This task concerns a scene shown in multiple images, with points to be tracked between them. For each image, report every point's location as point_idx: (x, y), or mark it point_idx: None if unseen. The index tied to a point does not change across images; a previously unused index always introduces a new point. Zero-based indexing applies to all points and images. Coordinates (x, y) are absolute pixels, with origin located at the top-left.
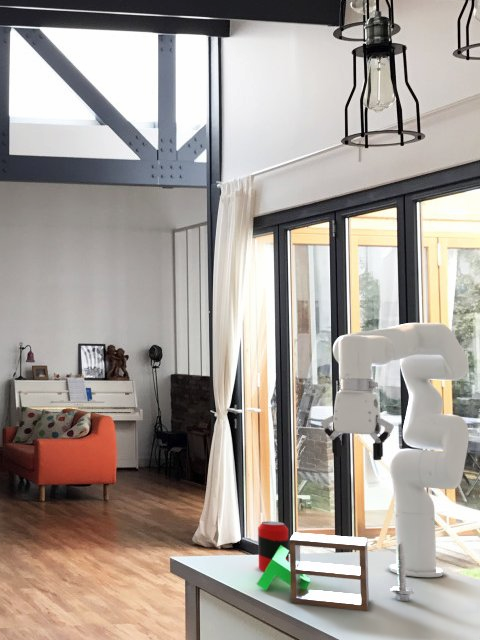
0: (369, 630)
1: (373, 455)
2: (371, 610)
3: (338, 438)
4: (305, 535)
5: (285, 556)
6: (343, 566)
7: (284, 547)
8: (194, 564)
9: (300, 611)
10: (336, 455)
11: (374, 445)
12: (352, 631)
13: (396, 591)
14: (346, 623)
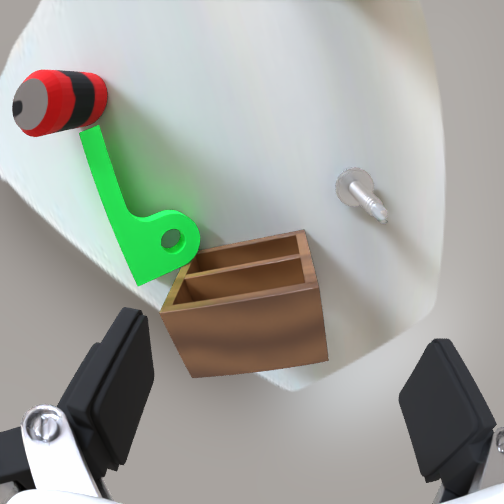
0: (331, 367)
1: (404, 416)
2: (319, 284)
3: (96, 455)
4: (192, 331)
5: (120, 195)
6: (267, 275)
7: (81, 107)
8: (2, 161)
9: None
10: (152, 383)
11: (427, 468)
12: (315, 378)
13: (347, 203)
14: None
